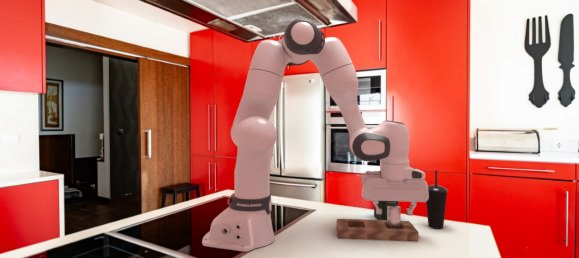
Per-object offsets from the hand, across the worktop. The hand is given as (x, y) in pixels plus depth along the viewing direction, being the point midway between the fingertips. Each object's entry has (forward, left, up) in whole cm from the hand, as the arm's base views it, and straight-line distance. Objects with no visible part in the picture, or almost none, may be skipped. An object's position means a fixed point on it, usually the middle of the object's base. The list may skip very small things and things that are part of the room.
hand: (394, 214), depth 97 cm
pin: (0, 0, -7) cm, 7 cm away
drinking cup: (+17, +12, -8) cm, 22 cm away
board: (-6, 0, -8) cm, 10 cm away
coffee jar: (+1, +17, -8) cm, 19 cm away
